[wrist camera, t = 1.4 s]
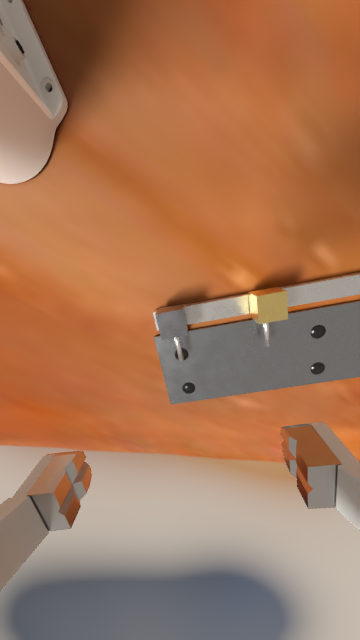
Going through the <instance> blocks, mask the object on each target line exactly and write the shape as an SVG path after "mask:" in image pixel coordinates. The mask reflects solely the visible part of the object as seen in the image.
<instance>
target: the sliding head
mask: <svg viewBox="0 0 360 640" xmlns="http://www.w3.org/2000/svg"><path fill="white" fill-rule="evenodd" d="M248 293H249V304H250V315H251V318H252V319H253V320H255V321H256V322H257V323H258V324H263V328H264V342H265V346H266V347H269V346H270V334H269V322H274V321H280V320H286V319H288V301H287V291H286V290H283V289H280V288H277V287H273V288H268V289H263V290H257V291H252V292H248Z"/></svg>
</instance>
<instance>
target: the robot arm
mask: <svg viewBox="0 0 360 640" xmlns="http://www.w3.org/2000/svg"><path fill="white" fill-rule="evenodd" d="M50 88H52V91H51V92H49V90H50ZM67 107H68V104H67V99H66V97H65V94H64V92H63V90H62V88H61V85H60V83H59V81H58V79H57V76H56V74H55V72H54V70H53V68H52V65H51V63H50V61H49V59H48V56H47V54H46V52H45V50H44V47H43V45H42V43H41V41H40V38H39V36H38V34H37V32H36V29H35V27H34V25H33V23H32V21H31V18H30V16H29V14H28V12H27V9H26V7H25V5H24V3H23V0H0V182H1V183H6V184H15V183H21V182H24V181H27V180H29V179H31V178H32V177H34V176H35V175H37V174H38V173H39V172H40V171H41V169H42V168H43V167H44V165H45V164H46V162H47V160H48V158H49V156H50V153H51V150H52V146H53V140H54V135H55V131H56V128H57V126H58V125H59V123H60V122H61V120H62V119H63V117H64V115H65V113H66V111H67ZM281 436H282V438H283V440H284V441H283V443H282V444H281V445H282V453H283V457H284V460H285V463H286V465H287V467H288V469H289V472H290V473H291V474H292V475H294V476H295V477H296V478H297V488H298V490H299V492H300V493H301V495H302V498H303V500H304V501H305V504H306V505H307V507H308V509H311V508H331V507H336V510H337V511H338V512H340V513H341V514H342V515H343V516H344V517H345V518H346V519H347V520H349V521H350V522H351V523H352V524H353V525H354V526H355V527H356V528H357V529H358V530H359V531H360V462H359V461H358V460H357V459H356V458H355V456H354V455H353V454H352V453H351V452H350V451H349V450H348V448H347V447H346V446H345V445H344V444H343V443H342V442H341V441H340V439H339V438H338V437H337V436H336V435H335V434H334V433H333V432H332V430H331V429H330V428H329V427H328V426H327V425H326V424H325V423H323V422H317V423H309V424H301V425H293V426H285V427H281ZM85 458H86V456H85V454H84V452H83V451H74V452H62V453H53V454H47V455H46V456H44V457H43V458H42V459H41V460H40V461H39V463H38V464H37V465H36V467H35V468H34V470H33V471H32V472H31V473H30V475H29V476H28V477H27V479H26V480H25V481H24V483H23V484H22V485H21V487H20V488H19V489H18V491H17V492H16V493H15V495H14V496H13V497H12V498H8V499H7V500H6V501H4V502H3V503H2V504H0V591H1V589H2V588H3V587H4V586H5V585H6V583H7V582H8V581H9V580H10V579H11V577H12V576H13V575H14V574H15V573H16V571H17V570H18V569H19V568H20V567H21V566H22V564H23V563H24V562H25V561H26V560H27V558H28V557H29V556H30V555H31V554H32V552H33V551H34V550H35V549H36V548H37V546H38V545H39V544H40V543H41V542H42V540H43V539H44V538H45V537H46V536H47V535H48V533H49V532H48V531H56V530H64V529H71V527H72V525H73V523H74V520H75V518H76V516H77V514H78V511H79V509H80V499H81V498H82V497H83V496H84V495H85V494H86V493H87V491H88V488H89V486H90V481H91V468H90V466H89V465H88V464H87V463H86V462H84V461H85Z"/></svg>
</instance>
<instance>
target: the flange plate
mask: <svg viewBox="0 0 360 640" xmlns="http://www.w3.org/2000/svg"><path fill="white" fill-rule="evenodd" d="M269 334H270V346H269V347H266V346H265V342H264V328H263V324H258V323H257V322H256V321H255V320H253V319H249V320H243V321H238V322H232V323H226V324H221V325H215V326H209V327H203V328H198V329H192V330H188V336H183V337H179V339H180V343H181V348H182V353H183V358H184V360H183V361H179V357H178V353H177V348H176V344H175V339H174V338H171V339H166V340H161V336H160V335H158V336H154V339H155V343H156V347H157V351H158V355H159V359H160V363H161V367H162V371H163V375H164V379H165V383H166V387H167V391H168V395H169V399H170V403H171V404H177V403H184V402H191V401H197V400H204V399H211V398H218V397H225V396H232V395H238V394H245V393H252V392H259V391H266V390H273V389H279V388H286V387H293V386H300V385H307V384H314V383H320V382H327V381H334V380H341V379H348V378H355V377H360V300H358V301H352V302H346V303H341V304H335V305H329V306H323V307H318V308H312V309H306V310H301V311H295V312H289V313H288V319H286V320H280V321H274V322H269Z"/></svg>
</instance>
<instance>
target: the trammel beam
mask: <svg viewBox="0 0 360 640" xmlns="http://www.w3.org/2000/svg"><path fill="white" fill-rule="evenodd" d="M277 288H280V289H283V290H286V291H287V301H288V307H290V306H296V305H301V304H307V303H312V302H318V301H324V300H329V299H335V298H341V297H346V296H352V295H358V294H360V272H358V273H352V274H347V275H342V276H336V277H331V278H325V279H320V280H315V281H309V282H304V283H298V284H293V285H288V286H282V287H277ZM245 314H250V304H249V293H245V294H239V295H234V296H228V297H223V298H218V299H212V300H207V301H201V302H196V303H191V304H185V305H183V304H180V305H174V306H169V307H163V308H158V310H154V312H153V315H154V319H155V323H156V327H157V330H159V332H160V336H161V340H166V339H171V338H174V339H175V344H176V348H177V353H178V357H179V361H183V360H184V358H183V353H182V348H181V343H180V339H179V337H183V336H188V326H187V325H188V324H194V323H200V322H205V321H211V320H217V319H222V318H228V317H233V316H239V315H245Z"/></svg>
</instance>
